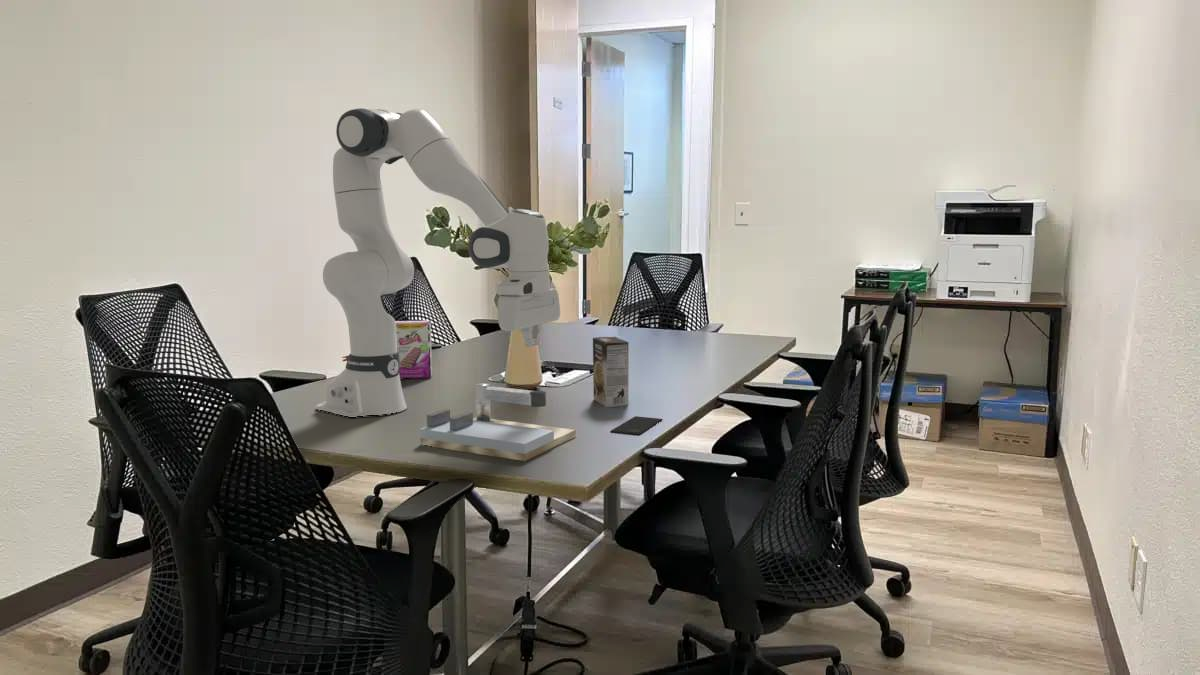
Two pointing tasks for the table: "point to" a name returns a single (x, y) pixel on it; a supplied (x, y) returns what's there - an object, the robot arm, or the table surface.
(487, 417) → the lock bar
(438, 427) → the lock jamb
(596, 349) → the coffee box
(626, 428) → the smartphone
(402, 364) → the candy bar box
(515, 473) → the table surface
